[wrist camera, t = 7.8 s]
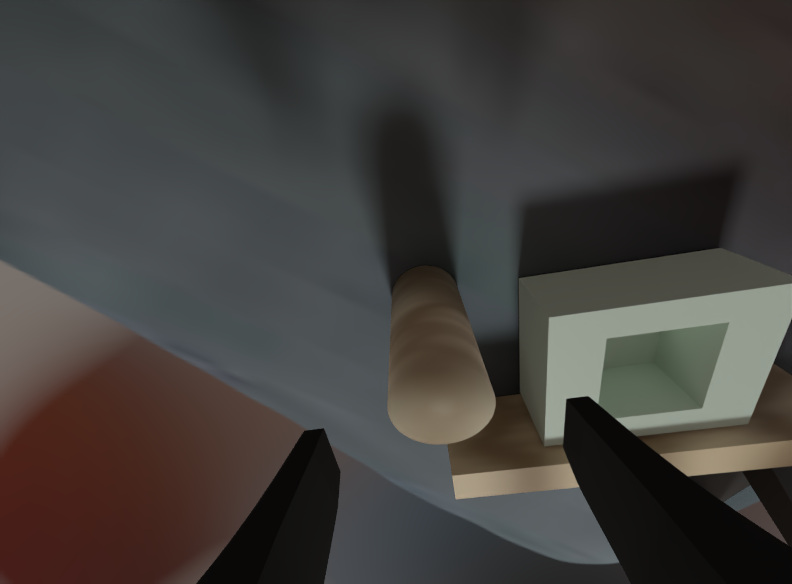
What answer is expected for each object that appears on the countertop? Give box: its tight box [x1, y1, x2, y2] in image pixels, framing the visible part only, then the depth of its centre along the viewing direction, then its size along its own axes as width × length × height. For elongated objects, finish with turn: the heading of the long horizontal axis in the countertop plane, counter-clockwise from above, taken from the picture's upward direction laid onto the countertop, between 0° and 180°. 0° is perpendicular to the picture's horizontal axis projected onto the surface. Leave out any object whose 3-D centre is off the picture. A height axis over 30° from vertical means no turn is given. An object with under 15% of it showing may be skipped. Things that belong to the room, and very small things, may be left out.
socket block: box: [519, 248, 792, 446], centre depth 17 cm, size 10×8×4 cm
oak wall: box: [447, 364, 792, 499], centre depth 19 cm, size 20×2×5 cm, turn 100°
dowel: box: [388, 265, 496, 444], centre depth 15 cm, size 4×4×8 cm
